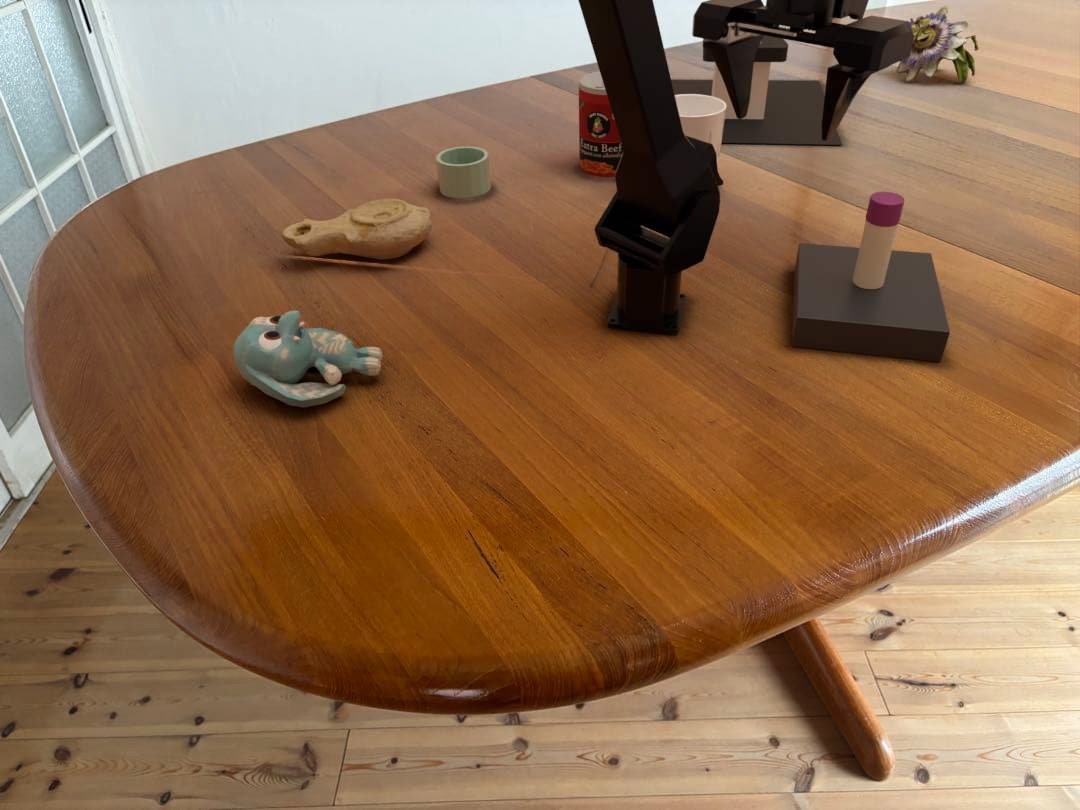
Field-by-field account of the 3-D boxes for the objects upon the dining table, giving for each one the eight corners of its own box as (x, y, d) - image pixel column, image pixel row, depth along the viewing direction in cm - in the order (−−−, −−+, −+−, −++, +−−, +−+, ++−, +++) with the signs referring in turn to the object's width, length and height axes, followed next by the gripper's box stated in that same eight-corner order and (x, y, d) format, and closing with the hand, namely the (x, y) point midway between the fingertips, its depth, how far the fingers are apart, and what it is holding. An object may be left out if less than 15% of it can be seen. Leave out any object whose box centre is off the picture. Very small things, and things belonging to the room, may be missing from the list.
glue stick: (884, 291, 72) (906, 205, 67) (852, 288, 72) (871, 203, 68) (882, 276, 74) (903, 192, 69) (851, 274, 74) (869, 190, 70)
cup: (482, 203, 97) (478, 167, 94) (433, 200, 98) (428, 164, 96) (497, 183, 102) (494, 147, 99) (450, 180, 103) (446, 145, 100)
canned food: (569, 175, 103) (567, 85, 96) (595, 153, 108) (596, 66, 102) (625, 184, 100) (628, 92, 93) (650, 161, 105) (654, 72, 99)
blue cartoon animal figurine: (377, 356, 62) (213, 342, 61) (374, 429, 67) (221, 418, 65) (388, 287, 71) (244, 273, 69) (385, 355, 75) (249, 343, 73)
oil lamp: (283, 261, 87) (272, 217, 84) (397, 220, 94) (390, 178, 91) (332, 297, 81) (322, 251, 78) (450, 250, 88) (445, 206, 85)
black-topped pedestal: (842, 145, 107) (862, 37, 99) (640, 142, 111) (644, 37, 103) (818, 81, 129) (834, -12, 121) (651, 80, 133) (655, -11, 125)
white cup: (717, 204, 94) (725, 117, 88) (648, 201, 96) (652, 115, 90) (719, 178, 100) (727, 94, 94) (654, 175, 102) (658, 93, 96)
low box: (940, 362, 68) (950, 331, 66) (791, 346, 71) (797, 317, 69) (923, 281, 79) (931, 252, 77) (794, 270, 82) (799, 242, 80)
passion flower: (903, 116, 131) (868, 48, 127) (931, 86, 136) (899, 20, 132) (972, 87, 121) (936, 13, 118) (999, 55, 126) (966, -16, 123)
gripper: (967, -67, 66) (920, 127, 75) (769, -83, 77) (750, 88, 86) (898, -46, 60) (856, 162, 69) (695, -67, 71) (682, 115, 80)
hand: (782, 128), depth 77 cm, fingers open, 9 cm apart
